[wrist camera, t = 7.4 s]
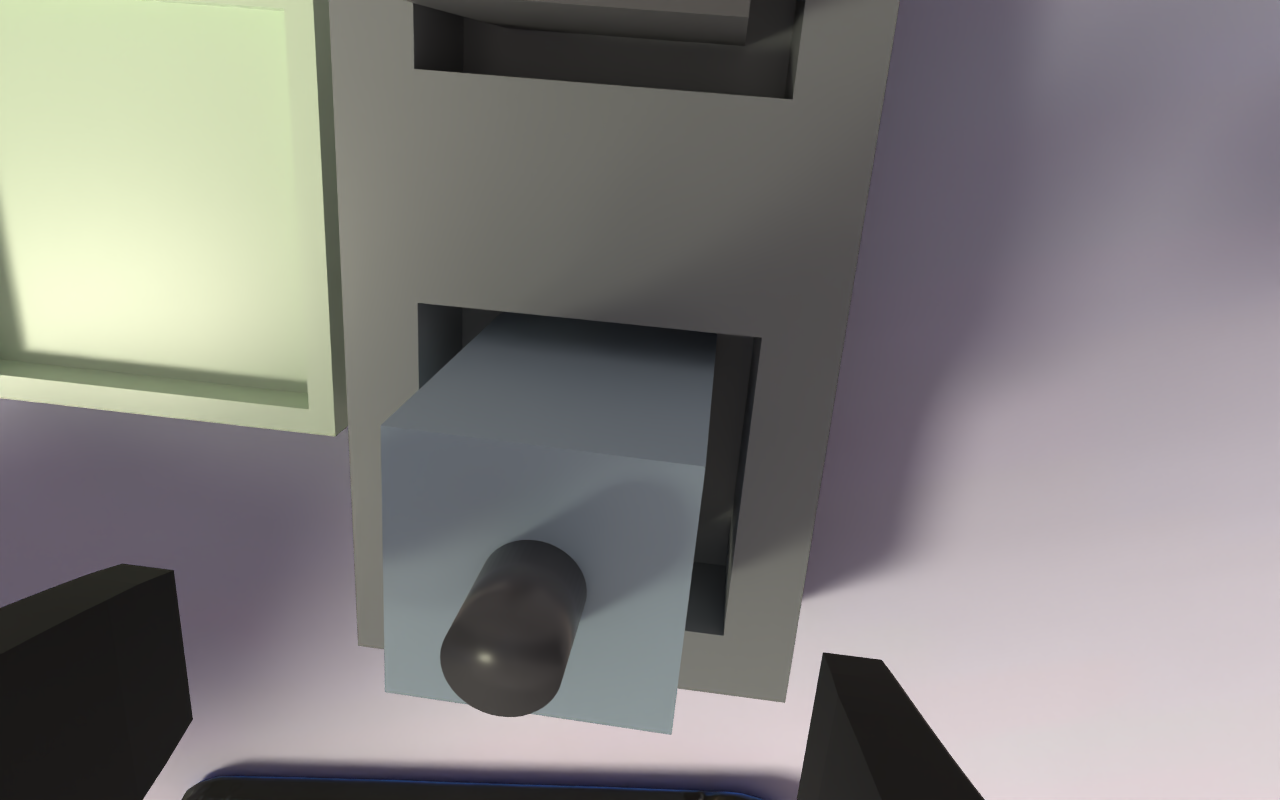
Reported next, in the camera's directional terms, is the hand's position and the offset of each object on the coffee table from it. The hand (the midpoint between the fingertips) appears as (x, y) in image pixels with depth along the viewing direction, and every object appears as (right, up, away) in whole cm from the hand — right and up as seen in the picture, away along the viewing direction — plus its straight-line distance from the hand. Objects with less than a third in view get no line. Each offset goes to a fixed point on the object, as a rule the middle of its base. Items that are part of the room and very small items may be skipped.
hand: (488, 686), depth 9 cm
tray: (-8, +7, +7) cm, 13 cm away
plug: (+1, +3, +7) cm, 8 cm away
